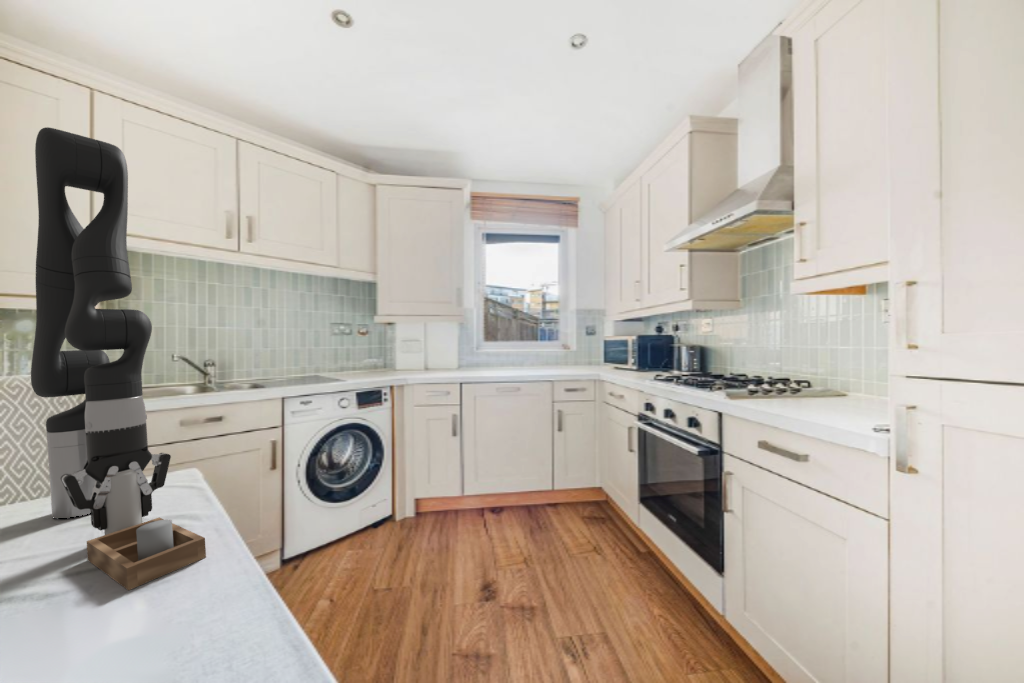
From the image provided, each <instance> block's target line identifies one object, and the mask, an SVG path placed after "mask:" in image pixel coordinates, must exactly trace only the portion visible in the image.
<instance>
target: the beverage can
mask: <svg viewBox="0 0 1024 683" xmlns="http://www.w3.org/2000/svg"><path fill="white" fill-rule="evenodd" d="M132 470H133V469H129V470H125V471H120V472H117V473H115V474H116V476H113V477H111V478H110V480H108V481H111V489H110V492H109V493H108V494H107V496H106V499H105V502H104V504H103V507H105V508H106V523H107V529H104V535H107V534H110V533H113V532H116V531H119V530H122V529H125V528H128V527H131V526H135V525H138V524H141V523H143V517H142V508H141V492H140V486H139V484H138V482H137V474H138V473H137V472H136V471H132Z"/></svg>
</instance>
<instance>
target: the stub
mask: <svg viewBox="0 0 1024 683" xmlns="http://www.w3.org/2000/svg"><path fill="white" fill-rule="evenodd" d="M172 523H173V521H172V519H169V518H168V519H164V520H159V521H154V522H151V523H148V524H145V525H143V526H141V527H139V528H138V529H137V530H136V534H137V550H138V561H140V560H142V559H145V558H147V557H150V556H153V555H155V554H158V553H160V552H163V551H166V550H168V549H171V548H173V547H174V545H173V530H172Z"/></svg>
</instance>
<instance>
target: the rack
mask: <svg viewBox="0 0 1024 683" xmlns="http://www.w3.org/2000/svg"><path fill="white" fill-rule="evenodd" d="M159 520H165V519H164V518H162V517H156V518H154V519H153V518H152V519H150V520H147V521H144V522H142V523H141V524H138V525H135V526H131V527H128V528H125V529H122V530H119V531H116V532H113V533H110V534H107V535H105V534H104V535H101V536H98V537H96V538H91V539H89V540H87V541H86V554H87V555H86V556H87V561H88V562H90V563H91V564H92V565H93V566H95V567H96V568H98V569H99V570H100V571H101V572H102V573H104V574H106V575H107V576H109V577H110V578H111V579H113V580H114V581H115V582H116V583H118V584H119V585H120V586H122V587H123V588H124V589H126V590H127V591H130V590H133V589H135V588H138V587H140V586H142V585H145V584H147V583H149V582H151V581H153V580H156V579H158V578H160V577H164V576H166V575H167V574H170V573H172V572H175V571H177V570H179V569H182V568H184V567H187V566H188V565H190V564H193V563H196V562H199V561H200V560H203V559H205V558H207V552H206V550H207V548H206V538H205V537H204V536H201V535H199V534H198V533H195V532H193V531H190V530H188V529H186V528H184V527H181V526H180V525H177V524H175V523H173V522H172V530H173V545H174V547H173V548H171V549H168V550H166V551H163V552H160V553H158V554H155V555H153V556H150V557H147V558H145V559H142V560H140V561H138V550H137V534H136V530H137V529H138V528H139V527H141V526H143V525H145V524H148V523H151V522H154V521H159Z"/></svg>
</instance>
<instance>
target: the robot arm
mask: <svg viewBox="0 0 1024 683" xmlns="http://www.w3.org/2000/svg"><path fill="white" fill-rule="evenodd" d="M34 147H35V148H34V152H35V153H34V155H35V174H36V175H35V178H36V189H37V191H36V192H37V207H38V229H37V243H36V253H35V254H36V256H35V302H36V303H35V306H36V308H35V309H36V311H35V313H36V316H35V317H36V319H35V320H36V321H35V332H34V339H33V340H34V341H33V349H32V358H31V366H30V381H31V382H30V384H31V388H32V391H33V393H35V394H36V395H37V396H38V397H40V398H57V397H58V398H59V397H69V396H78V395H85V399H84V400H83V401H82V402H81V403H79V404H77V405H75V406H74V407H72V408H70V409H67V410H65V411H61V412H59V413H57V414H53V415H51V416H50V417H48V418H47V419H46V422H45V430H46V444H47V456H48V471H49V472H48V473H49V486H50V504H51V515H52V516H51V518H52V517H54V518H67V519H71V518H70V517H74V518H77V517H76V516H79V517H82V515H83V516H87V514H88V515H90V523H91V526H92V527H93V528H94V529H97V530H99V531H101V532H102V531H103V530H104V529H107V523H106V508H105V507H103V504H104V502H105V499H106V496H107V494H108V493H109V492H110V489H111V481H108V480H110V478H111V477H113V476H116V474H115V473H117V472H120V471H125V470H129V469H133V470H132V471H136V472H137V473H138V474H137V482H138V484H139V486H140V492H141V508H142V518H145V517H147V516H149V512H151V511H152V510H153V498H152V497H153V496H152V494H153V493H154V492H155V490H158V489H161V488H163V487H164V486H165V483H166V480H167V479H166V478H167V473H168V470H169V466H170V462H171V458H172V455H171V454H169V453H165V452H160V453H152V452H150V450H149V447H148V446H149V444H148V443H149V442H148V430H147V419H148V418H147V417H148V416H147V415H148V414H147V413H146V412H147V411H146V406H145V402H144V396H143V394H144V392H143V381H142V380H143V379H142V371H143V364H144V359H145V356H146V351H147V348H148V345H149V342H150V340H151V336H152V330H153V324H152V322H151V319H150V318H149V316H148V315H147V314H146V313H144V312H143V311H141V310H138V309H131V308H130V309H127V308H125V309H121V308H120V309H117V308H116V309H115V308H114V309H113V308H112V309H111V308H96V306H98V304H99V303H101V302H107V301H115V300H121V299H123V298H124V299H125V298H126V297H129V296H130V295H131V293H132V291H133V284H132V276H131V271H130V265H129V264H130V263H129V256H128V246H127V237H128V236H127V234H128V229H127V228H128V207H129V203H128V202H129V195H128V194H129V193H128V192H129V171H128V165H127V160H126V157H125V154H124V152H123V151H122V149H120V148H119V147H118V146H117V145H114V144H112V143H109V142H106V141H102V140H99V139H95V138H92V137H88V136H84V135H80V134H77V133H71V132H68V131H64V130H62V129H57V128H54V127H49V126H47V127H42V128H41V129H40V130H39V131H38V132H37V136H36V139H35V146H34ZM66 187H70V188H74V189H80V190H86V191H92V192H95V193H99V194H100V193H101V194H103V202H102V206H101V209H100V210H99V212H98V213H97V214H96V215H95V217H94V218H93V219H92V220H91V221H90V222H89V223H88V225H86V226H85V228H84V227H83V226H82V225H81V223H80V222H79V220H78V218H77V217H76V216H75V214H74V212H73V211H72V209H71V207H70V205H69V202H68V199H67V195H66ZM65 340H66V341H67V342H68V344H69V345H70V346H72V347H73V348H74V349H75V350H62V347H63V344H64V342H65ZM109 350H110V351H113V350H115V351H116V350H123V353H122V355H120V357H119V358H118V359H116V360H114V361H110V358H109V355H108V354H107V352H105V351H109ZM150 462H151V464H152V465H153V466H154V469H153V472H152V477H151V480H150V482H148V478H147V477H146V475H145V473H144V470H145V469H146V467H147V466H148V464H149V463H150ZM90 513H91V514H90Z"/></svg>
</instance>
